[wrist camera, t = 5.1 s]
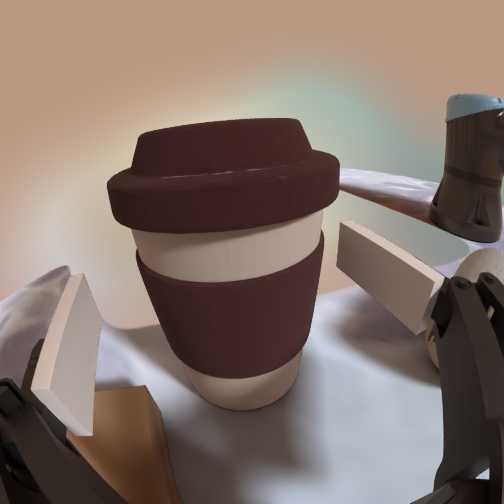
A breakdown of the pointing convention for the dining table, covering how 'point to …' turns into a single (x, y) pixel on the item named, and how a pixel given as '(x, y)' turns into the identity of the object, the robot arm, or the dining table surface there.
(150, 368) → the dining table surface
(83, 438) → the walnut slab
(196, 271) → the coffee cup
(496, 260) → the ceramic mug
